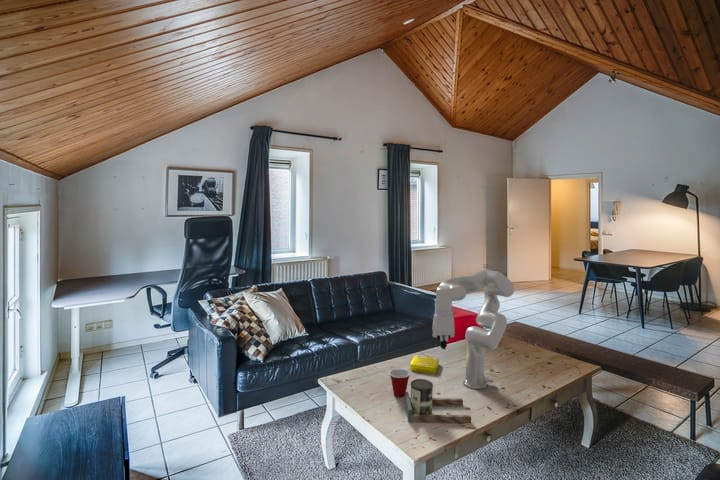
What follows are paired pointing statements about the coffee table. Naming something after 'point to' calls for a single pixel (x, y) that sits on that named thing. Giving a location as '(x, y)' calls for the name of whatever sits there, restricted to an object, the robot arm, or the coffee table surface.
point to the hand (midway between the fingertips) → (443, 348)
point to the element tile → (424, 364)
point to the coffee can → (421, 397)
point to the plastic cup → (399, 381)
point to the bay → (436, 418)
